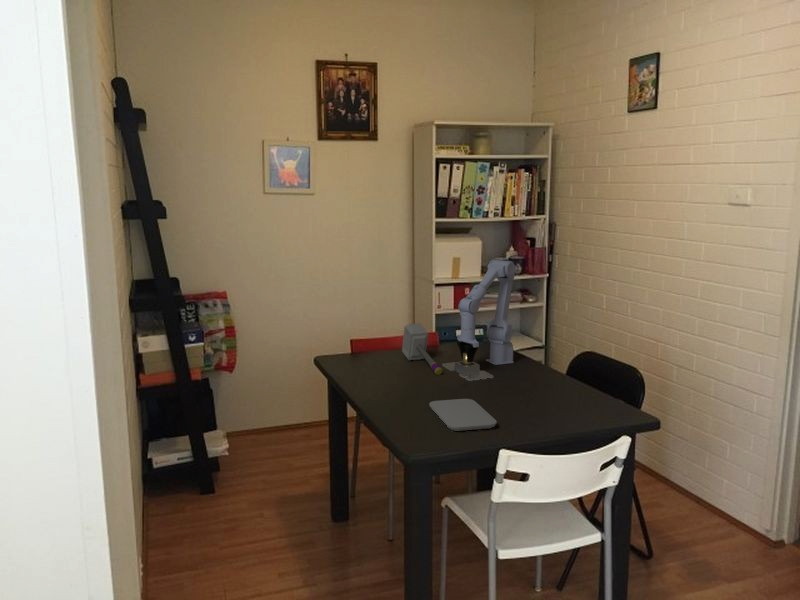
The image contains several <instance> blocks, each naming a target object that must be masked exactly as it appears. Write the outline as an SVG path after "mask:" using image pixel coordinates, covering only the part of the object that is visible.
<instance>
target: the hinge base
mask: <svg viewBox="0 0 800 600" xmlns="http://www.w3.org/2000/svg"><path fill="white" fill-rule="evenodd" d="M441 364H442V365H441V366H442V367H444V368H445V369H446V370H448V371H451V372H453V371H454V372H457V373H458V374H459V375H458V376H460V377H461V378H462V379H464V378H465V381H468V382H472V381H473V380H474V381H479V380H480V379H482V380H488V379H487V378H490V379H494V375H493V374H491V373H489V372H488V371H485V370H481V369H480V368H481V366H480V364H478V363H477V362H475V361H473V362H472V365H466V366H464V365H463V360H461V361H453V362H445V363H441Z"/></svg>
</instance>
